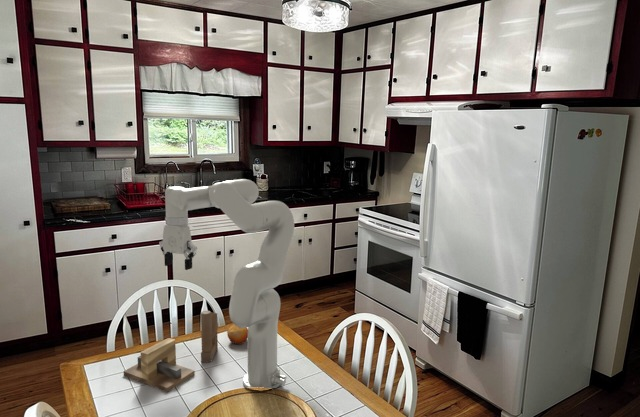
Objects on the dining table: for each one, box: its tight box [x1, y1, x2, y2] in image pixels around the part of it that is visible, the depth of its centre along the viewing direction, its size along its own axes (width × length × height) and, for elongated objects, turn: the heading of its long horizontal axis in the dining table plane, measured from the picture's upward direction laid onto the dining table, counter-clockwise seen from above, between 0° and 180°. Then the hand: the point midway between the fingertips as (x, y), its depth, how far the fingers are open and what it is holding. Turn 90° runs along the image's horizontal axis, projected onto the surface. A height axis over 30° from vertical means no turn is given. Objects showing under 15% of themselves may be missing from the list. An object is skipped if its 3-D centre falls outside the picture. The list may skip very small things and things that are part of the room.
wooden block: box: [200, 310, 219, 363], centre depth 167 cm, size 4×11×18 cm, turn 0°
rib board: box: [123, 355, 196, 393], centre depth 154 cm, size 20×12×4 cm, turn 62°
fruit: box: [226, 324, 248, 345], centre depth 179 cm, size 8×8×8 cm
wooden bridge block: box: [140, 337, 177, 380], centre depth 153 cm, size 3×12×9 cm, turn 152°
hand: (178, 267), depth 169 cm, fingers open, 9 cm apart
